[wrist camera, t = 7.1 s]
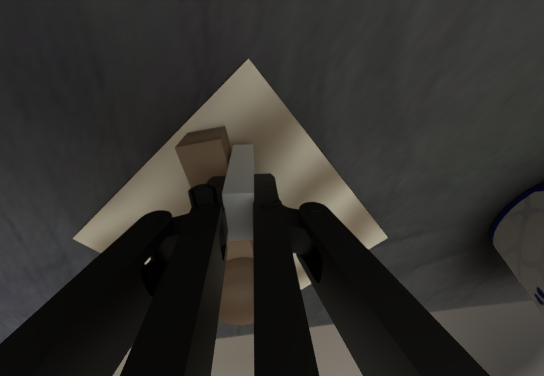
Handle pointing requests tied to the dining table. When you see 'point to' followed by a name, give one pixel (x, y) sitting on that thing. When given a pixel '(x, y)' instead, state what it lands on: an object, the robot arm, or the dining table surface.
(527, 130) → the dining table surface
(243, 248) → the wooden mallet
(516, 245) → the vase
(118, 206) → the cream flat square slab
